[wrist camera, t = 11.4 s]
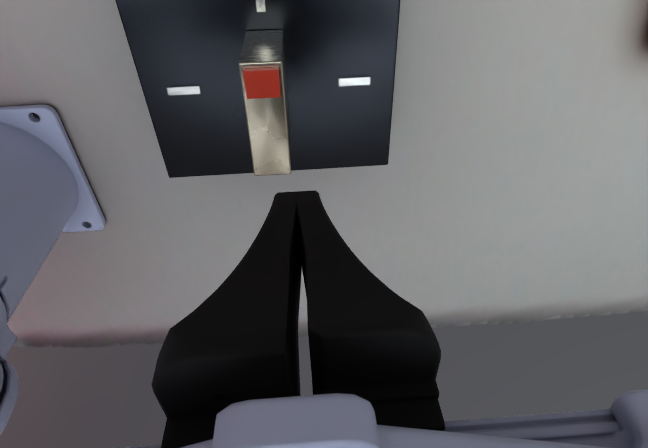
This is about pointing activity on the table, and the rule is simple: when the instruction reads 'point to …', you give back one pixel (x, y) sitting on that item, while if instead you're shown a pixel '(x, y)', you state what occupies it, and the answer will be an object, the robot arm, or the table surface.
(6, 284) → the robot arm
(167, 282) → the table surface
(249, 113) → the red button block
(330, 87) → the dial panel
